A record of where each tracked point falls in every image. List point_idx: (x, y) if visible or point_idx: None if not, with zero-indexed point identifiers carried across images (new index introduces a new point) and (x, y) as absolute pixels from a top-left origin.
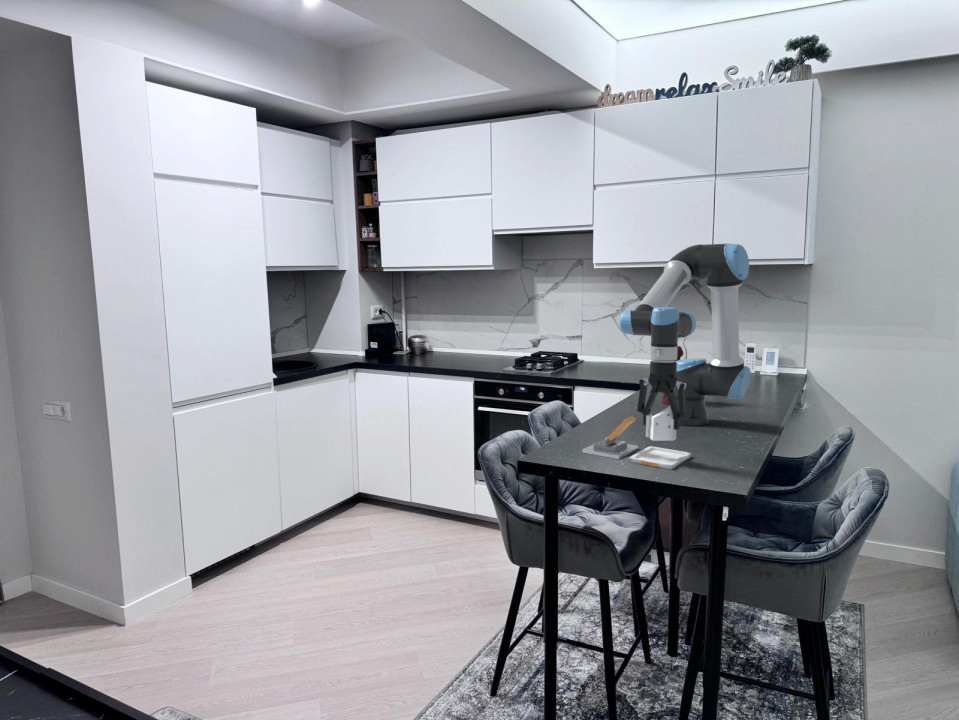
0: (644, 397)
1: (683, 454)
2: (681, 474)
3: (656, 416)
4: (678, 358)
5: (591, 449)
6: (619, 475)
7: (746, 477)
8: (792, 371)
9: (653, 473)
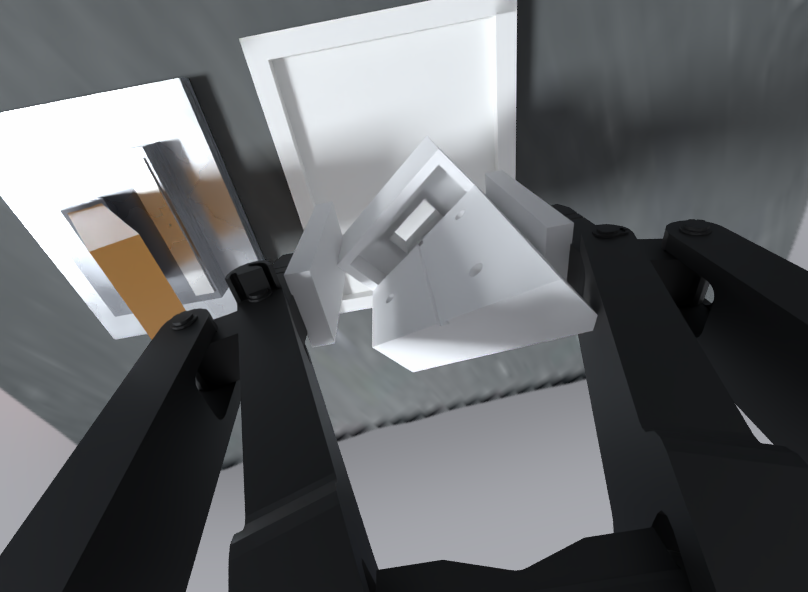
0: (172, 478)
1: (471, 20)
2: None
3: (430, 366)
4: None
5: (135, 318)
6: (409, 414)
7: (804, 149)
8: None
9: None
